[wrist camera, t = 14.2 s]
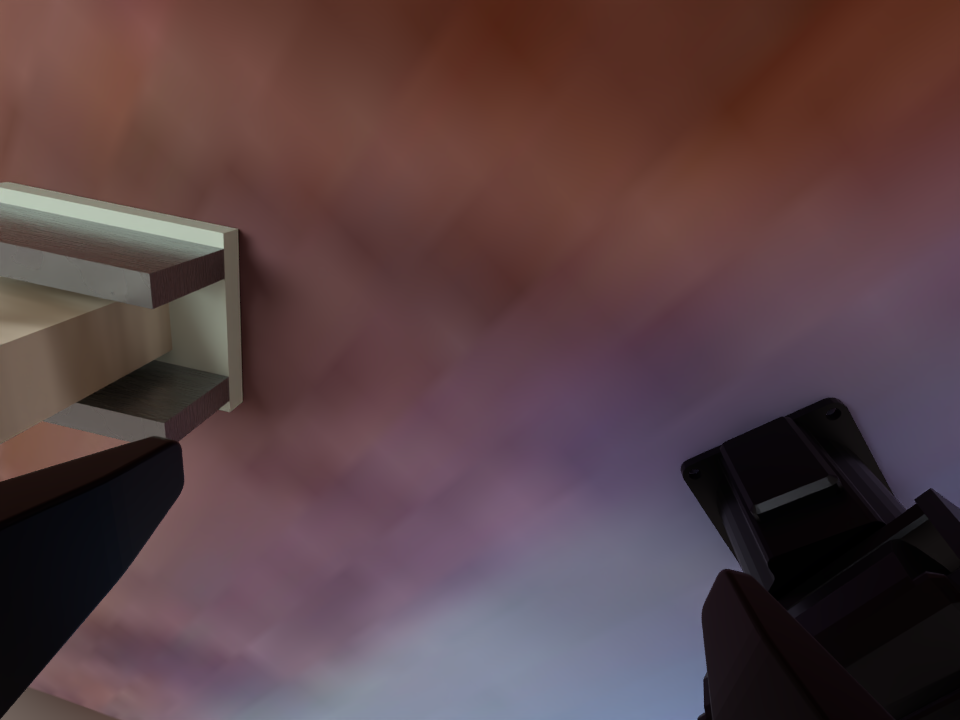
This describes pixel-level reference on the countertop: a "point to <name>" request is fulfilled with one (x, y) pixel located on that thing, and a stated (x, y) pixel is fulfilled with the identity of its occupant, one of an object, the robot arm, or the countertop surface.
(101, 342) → the ash slab
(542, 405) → the countertop surface
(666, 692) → the countertop surface
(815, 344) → the countertop surface
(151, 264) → the grey channel bracket
